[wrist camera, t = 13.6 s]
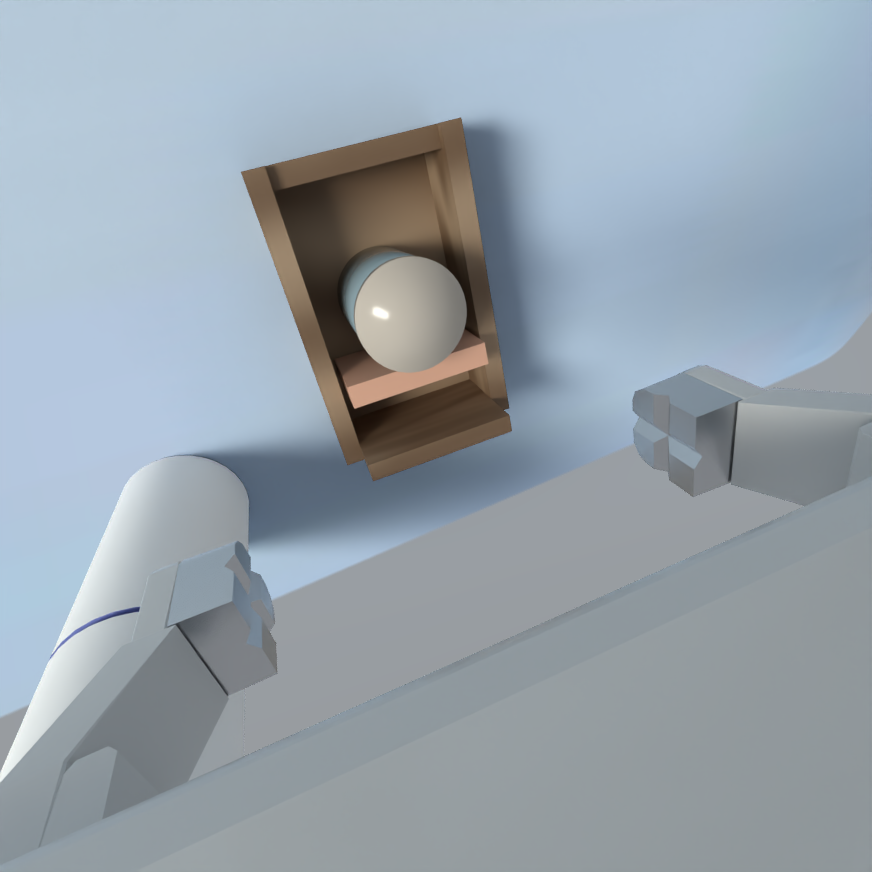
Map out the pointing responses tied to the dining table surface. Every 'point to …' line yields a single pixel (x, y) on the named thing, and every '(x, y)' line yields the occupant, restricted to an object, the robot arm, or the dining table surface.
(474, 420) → the brown wooden open box
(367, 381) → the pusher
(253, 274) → the dining table surface
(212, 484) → the cylindrical container
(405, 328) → the jar
